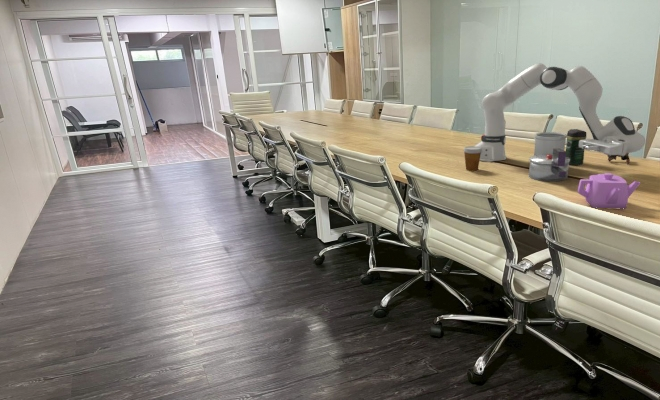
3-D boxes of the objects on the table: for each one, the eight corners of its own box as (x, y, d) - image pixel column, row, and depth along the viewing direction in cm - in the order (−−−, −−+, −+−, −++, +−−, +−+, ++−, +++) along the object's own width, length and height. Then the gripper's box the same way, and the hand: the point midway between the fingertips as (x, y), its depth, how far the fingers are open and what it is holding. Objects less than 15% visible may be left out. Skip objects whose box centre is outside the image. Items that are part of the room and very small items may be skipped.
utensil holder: (565, 170, 219) (568, 136, 214) (533, 170, 225) (536, 136, 219) (561, 164, 233) (564, 132, 227) (531, 163, 238) (533, 132, 232)
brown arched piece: (627, 166, 221) (620, 153, 221) (609, 171, 229) (602, 158, 229) (637, 157, 227) (629, 143, 226) (619, 162, 235) (611, 149, 235)
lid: (525, 157, 218) (526, 142, 216) (562, 156, 215) (564, 141, 212) (539, 168, 194) (541, 152, 192) (581, 168, 191) (583, 151, 189)
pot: (522, 171, 224) (523, 156, 221) (557, 170, 221) (558, 155, 218) (541, 187, 195) (542, 170, 192) (581, 186, 192) (583, 169, 189)
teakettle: (595, 194, 180) (599, 166, 177) (639, 204, 166) (644, 174, 162) (570, 203, 173) (574, 173, 169) (614, 214, 158) (619, 182, 155)
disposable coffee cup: (481, 167, 236) (482, 146, 233) (481, 171, 228) (482, 149, 224) (463, 167, 240) (463, 146, 236) (462, 171, 231) (463, 149, 227)
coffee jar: (585, 165, 227) (589, 130, 222) (570, 166, 227) (574, 131, 222) (576, 161, 236) (580, 127, 231) (561, 162, 237) (565, 128, 231)
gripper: (594, 135, 208) (569, 137, 205) (630, 142, 188) (603, 145, 186) (592, 148, 210) (568, 150, 207) (628, 156, 190) (601, 159, 188)
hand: (584, 148), depth 197 cm, fingers closed
